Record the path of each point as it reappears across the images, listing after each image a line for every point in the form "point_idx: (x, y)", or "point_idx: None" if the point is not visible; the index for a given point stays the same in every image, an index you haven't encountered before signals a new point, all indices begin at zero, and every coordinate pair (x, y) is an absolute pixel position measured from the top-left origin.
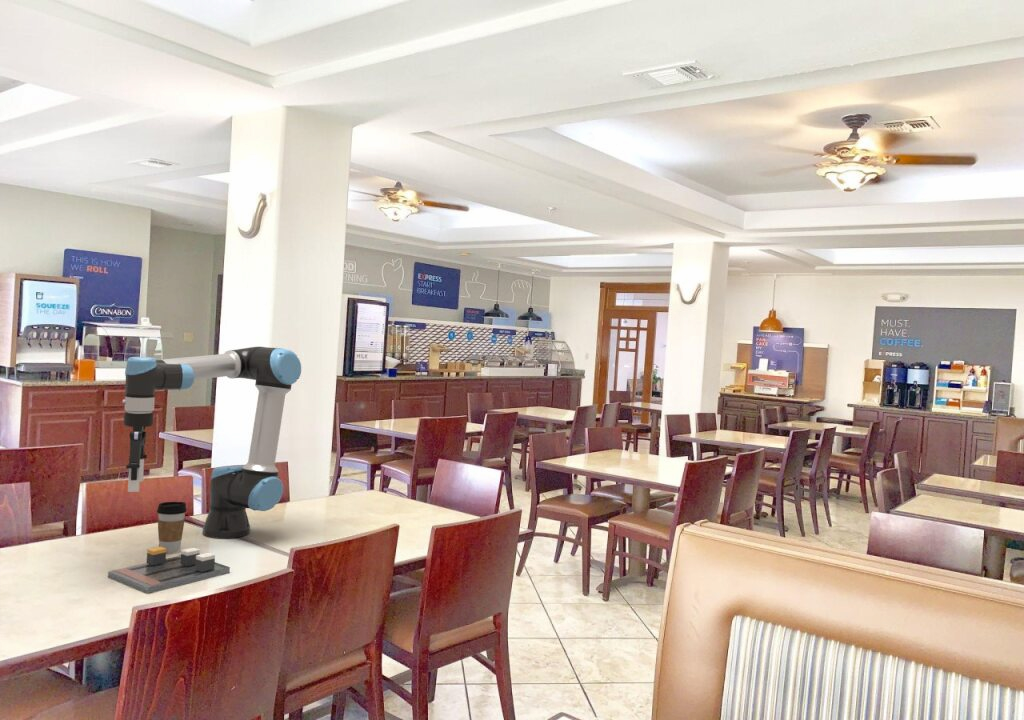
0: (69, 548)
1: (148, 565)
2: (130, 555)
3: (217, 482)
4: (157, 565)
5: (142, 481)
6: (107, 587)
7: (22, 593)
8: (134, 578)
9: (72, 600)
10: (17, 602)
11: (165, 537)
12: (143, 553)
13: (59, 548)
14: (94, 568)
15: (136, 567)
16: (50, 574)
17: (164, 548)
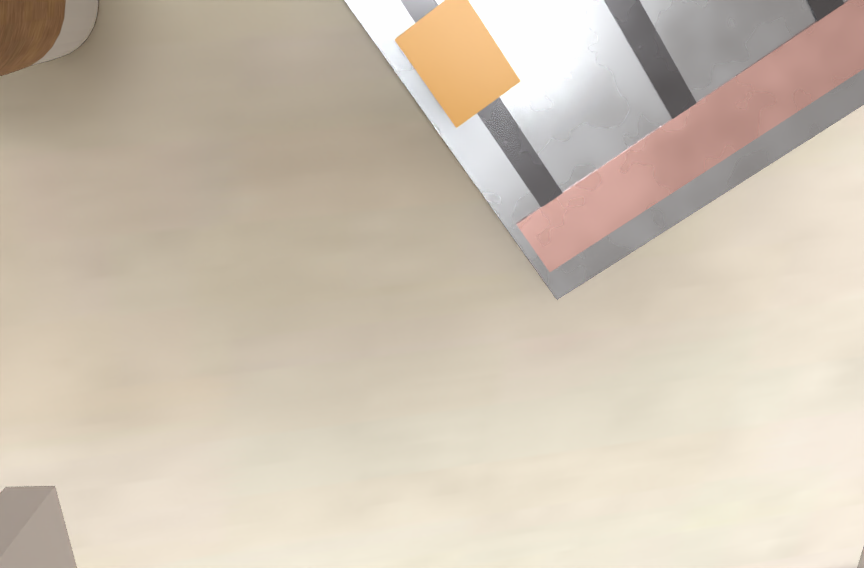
0: None
1: None
2: (146, 220)
3: None
4: None
5: (52, 491)
6: (718, 270)
7: (694, 557)
8: (727, 156)
9: (858, 384)
10: (802, 552)
11: (50, 19)
12: (101, 152)
13: None
14: (385, 363)
15: (518, 164)
16: (454, 513)
17: (449, 4)
